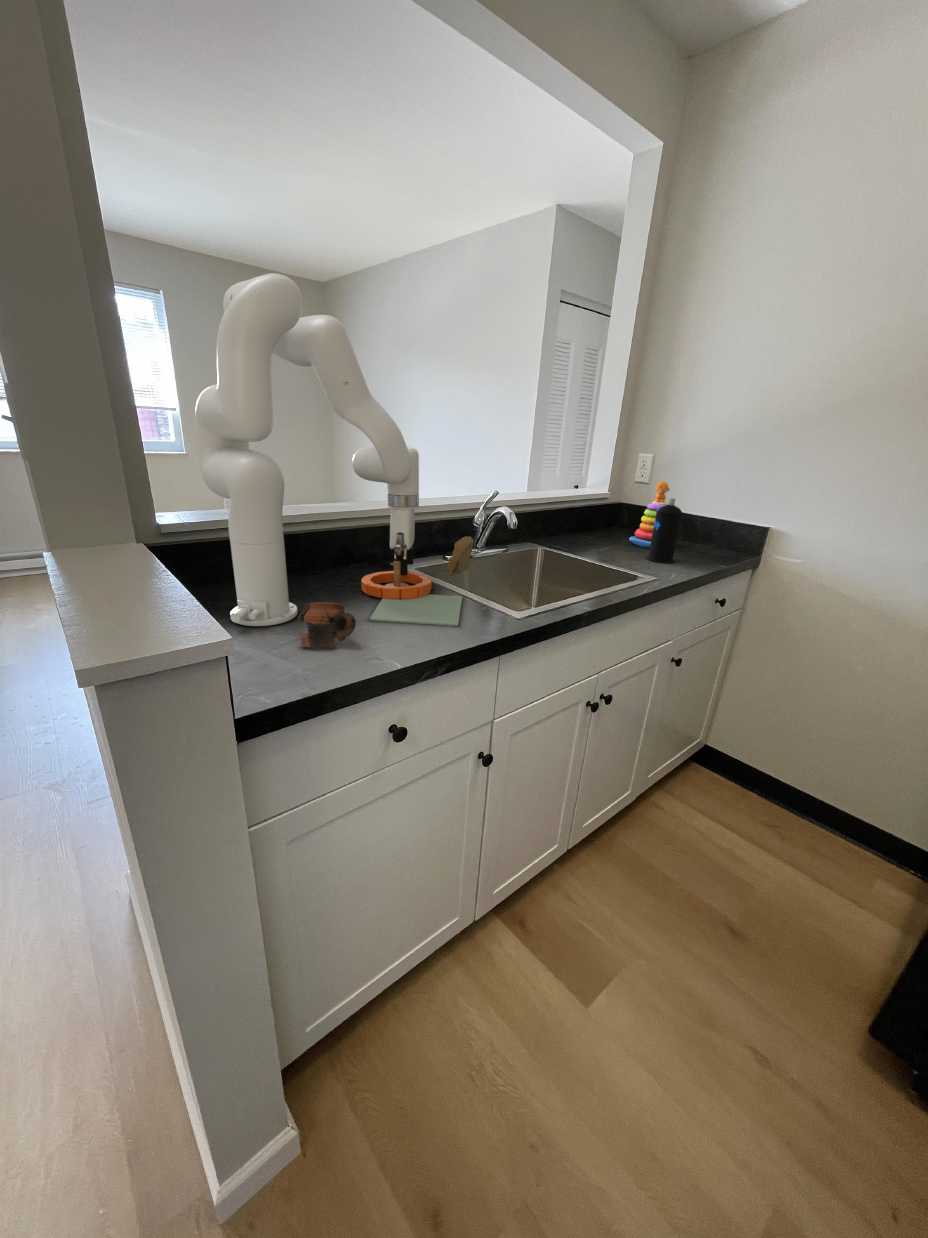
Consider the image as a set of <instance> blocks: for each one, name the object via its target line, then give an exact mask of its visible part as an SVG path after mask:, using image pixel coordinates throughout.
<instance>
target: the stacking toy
mask: <svg viewBox="0 0 928 1238" xmlns="http://www.w3.org/2000/svg"><path fill="white" fill-rule="evenodd" d="M654 490H655V491H656V494H655V496H654V498H655V499H654V500H653V501H652V502H651V503H648V505H647V506H646V509H645V510H644V512H643V514H644V515H642V516H641V518H640V521H641V523H640V524H639V528H637V529H636V530H635V531H634V536H630V537H629V540H628V541H630V542H631V543H633V544H634V545H636V546H637V547H641V548H645V549H650V544H651V539H652V533H653V528H654V523H655V518H656V510H658V509H659V508H660V507H662V506H666V505H668V502H666V499H667V497H666V493H667V492H669V491H670V487H669V484H668V483H667V482H666V481H663V480H662V481H660V482H658V483H657V485H656V486H655V487H654Z"/></svg>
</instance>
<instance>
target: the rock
mask: <svg viewBox="0 0 928 1238" xmlns="http://www.w3.org/2000/svg"><path fill="white" fill-rule="evenodd" d="M473 548H474V539H473V537H472V536H471V535H469V536H466V535H465V536H463V537H462V538H460V539H458V540H457V541H456V542H454V549H453V551H452V555H451V557H450V559H449V560H448V564H447V567H446V569H445V572H444V574H445V575H448V576H455V575H457V574H459V573H462V572H464V571H467V570H469V568H470V561H471V556H472V551H473Z"/></svg>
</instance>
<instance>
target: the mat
mask: <svg viewBox="0 0 928 1238" xmlns="http://www.w3.org/2000/svg"><path fill="white" fill-rule="evenodd" d="M462 604H463V595H462V596H461V595H446V594H445V595H444V594H430V593H429V594H426V595H423V596H421V597H417V598H407V599H401V598H400V599H387V598H381V600H380V601H379V603H378V605H377V606H376V607H375V609H374V611H373V612H372V614H371V616H370V617H369V621H374V622H388V623H404V624H419V625H433V626H435V625H436V626H450V627H458V626H459V622H460V617H461V610H462Z"/></svg>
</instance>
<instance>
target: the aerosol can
mask: <svg viewBox="0 0 928 1238" xmlns="http://www.w3.org/2000/svg"><path fill="white" fill-rule="evenodd" d="M675 503H676V498H675V497H674V498H673V497H669V498H668V502H667V505H666V506H662V507H660V508H659V509H658V510H656V518H655V523H654V528H653V533H652V539H651V544H650V548H648V549H649V550H648V555H647V557H646V558H647V560H648V561H650V562H653V563H660V564H672V563H674V556H675V551H676V547H677V541H678V537H679V536H678V535H679V531H680V527H681V522H682V518H683V515H684V512H683V511H682V510H681V508H680V507H678V506H676V505H675Z"/></svg>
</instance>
